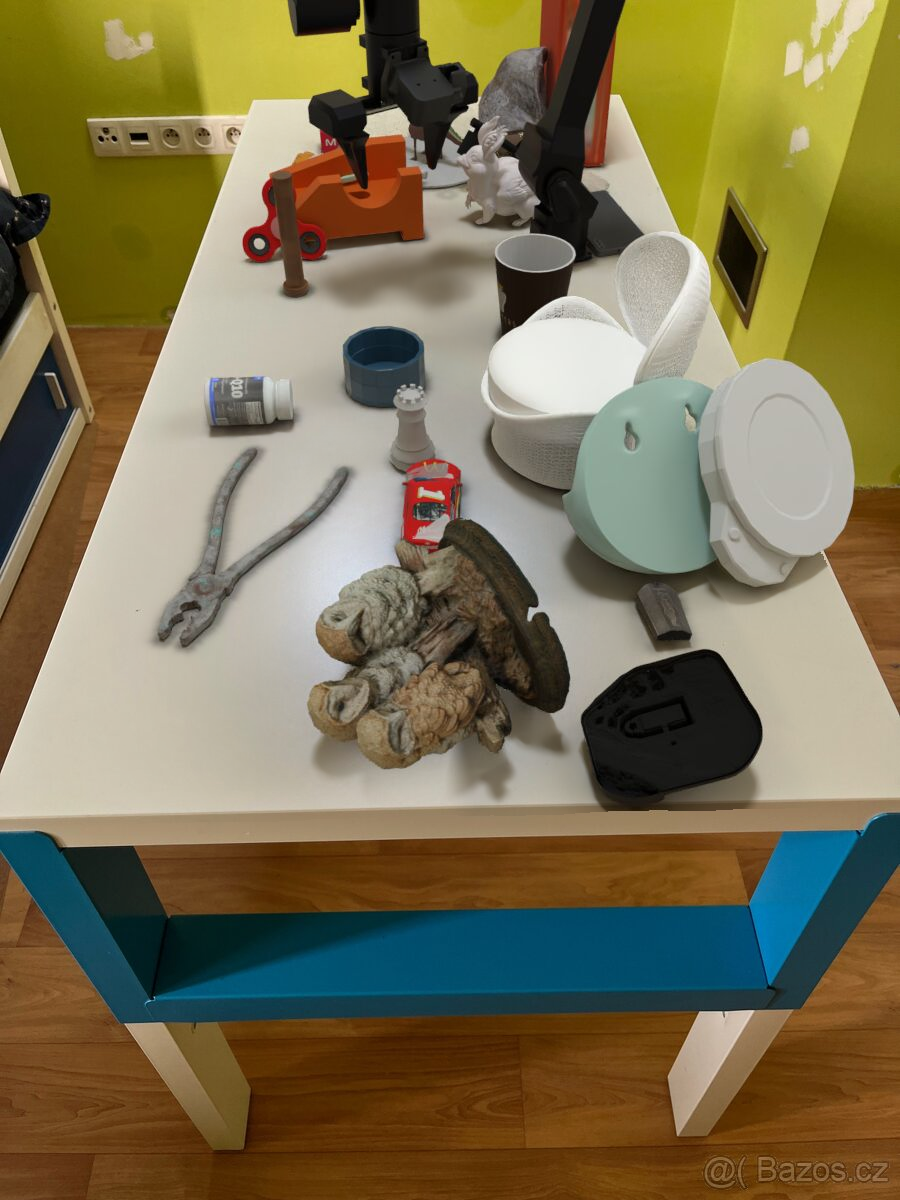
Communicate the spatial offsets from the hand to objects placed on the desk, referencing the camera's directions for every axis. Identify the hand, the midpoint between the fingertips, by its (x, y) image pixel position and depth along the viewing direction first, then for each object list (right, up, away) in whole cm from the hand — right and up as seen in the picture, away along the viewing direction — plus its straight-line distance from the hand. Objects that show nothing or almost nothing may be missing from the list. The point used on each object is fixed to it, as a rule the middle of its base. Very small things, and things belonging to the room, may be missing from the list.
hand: (398, 178), depth 113 cm
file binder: (+24, +21, +36) cm, 48 cm away
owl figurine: (+11, -49, -39) cm, 64 cm away
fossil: (+12, +24, +26) cm, 37 cm away
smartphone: (+24, +7, +22) cm, 33 cm away
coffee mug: (+15, -17, 0) cm, 23 cm away
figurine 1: (-4, +15, +28) cm, 32 cm away
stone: (+22, +12, +25) cm, 35 cm away
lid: (+33, -38, -27) cm, 57 cm away
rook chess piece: (+2, -35, -17) cm, 39 cm away
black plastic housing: (+21, -57, -44) cm, 75 cm away
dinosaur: (+3, +16, +32) cm, 36 cm away
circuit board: (+13, +21, +35) cm, 43 cm away
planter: (+26, -46, -26) cm, 59 cm away
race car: (+4, -41, -23) cm, 47 cm away
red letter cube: (-12, +19, +36) cm, 42 cm away
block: (+23, -50, -31) cm, 64 cm away
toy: (-15, -1, +9) cm, 18 cm away
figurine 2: (+14, +3, +20) cm, 24 cm away
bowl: (-1, -25, -8) cm, 26 cm away
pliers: (-9, -34, -17) cm, 39 cm away
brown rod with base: (-13, -11, +6) cm, 18 cm away
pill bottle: (-19, -29, -14) cm, 37 cm away
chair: (+19, -32, -15) cm, 40 cm away
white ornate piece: (+8, +7, +26) cm, 28 cm away
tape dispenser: (-8, +1, +18) cm, 20 cm away
